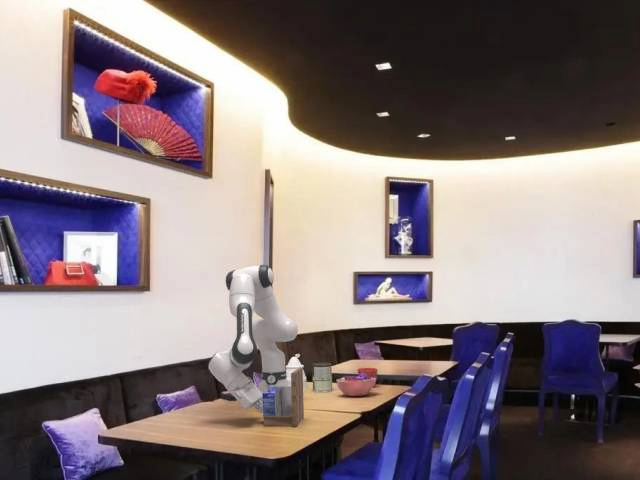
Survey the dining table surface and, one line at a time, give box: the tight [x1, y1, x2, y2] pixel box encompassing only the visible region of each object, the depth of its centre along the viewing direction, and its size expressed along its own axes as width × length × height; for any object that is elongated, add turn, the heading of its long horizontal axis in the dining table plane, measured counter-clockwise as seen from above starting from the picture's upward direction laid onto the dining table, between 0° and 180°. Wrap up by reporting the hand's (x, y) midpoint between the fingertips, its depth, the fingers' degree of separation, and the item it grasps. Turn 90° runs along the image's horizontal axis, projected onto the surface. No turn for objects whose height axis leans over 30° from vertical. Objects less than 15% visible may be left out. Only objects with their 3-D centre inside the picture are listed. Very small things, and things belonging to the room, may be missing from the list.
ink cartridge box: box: [262, 385, 281, 426], centre depth 241 cm, size 10×6×14 cm, turn 171°
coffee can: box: [311, 362, 333, 393], centre depth 317 cm, size 10×10×14 cm
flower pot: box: [357, 367, 378, 389], centre depth 326 cm, size 11×11×10 cm
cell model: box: [336, 372, 377, 397], centre depth 299 cm, size 17×20×11 cm
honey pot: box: [285, 353, 308, 389], centre depth 332 cm, size 13×13×18 cm
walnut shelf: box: [264, 367, 305, 428], centre depth 240 cm, size 18×12×20 cm
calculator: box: [220, 390, 238, 402], centre depth 302 cm, size 11×4×15 cm
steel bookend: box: [271, 386, 292, 416], centre depth 248 cm, size 4×11×13 cm, turn 82°
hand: (263, 411), depth 241 cm, fingers closed, pressing on ink cartridge box
